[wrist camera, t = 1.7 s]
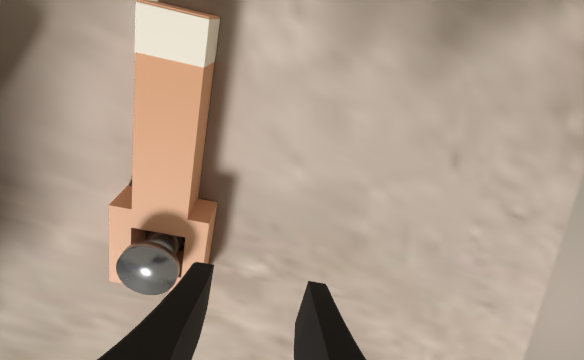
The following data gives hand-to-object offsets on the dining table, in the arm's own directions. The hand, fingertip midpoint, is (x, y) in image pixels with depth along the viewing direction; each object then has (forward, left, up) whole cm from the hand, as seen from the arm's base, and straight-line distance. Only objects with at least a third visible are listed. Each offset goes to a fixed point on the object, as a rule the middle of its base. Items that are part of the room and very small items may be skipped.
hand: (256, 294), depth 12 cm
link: (0, +6, -9) cm, 11 cm away
